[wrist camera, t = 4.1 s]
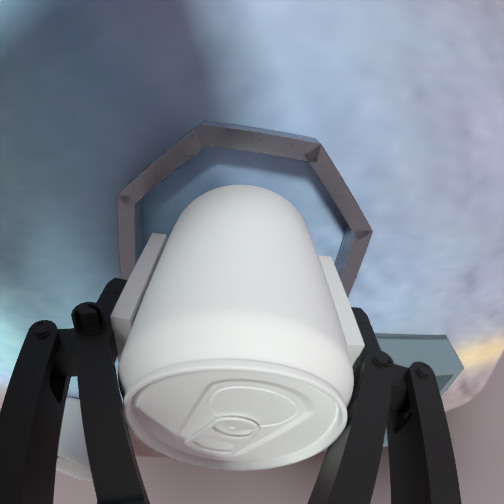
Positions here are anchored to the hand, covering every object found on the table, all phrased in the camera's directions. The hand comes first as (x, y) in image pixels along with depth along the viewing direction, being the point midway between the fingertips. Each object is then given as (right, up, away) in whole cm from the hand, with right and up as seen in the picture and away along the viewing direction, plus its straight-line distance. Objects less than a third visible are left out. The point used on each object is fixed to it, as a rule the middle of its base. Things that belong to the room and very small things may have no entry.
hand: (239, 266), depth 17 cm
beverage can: (0, +1, +2) cm, 2 cm away
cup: (-18, -18, +13) cm, 29 cm away
